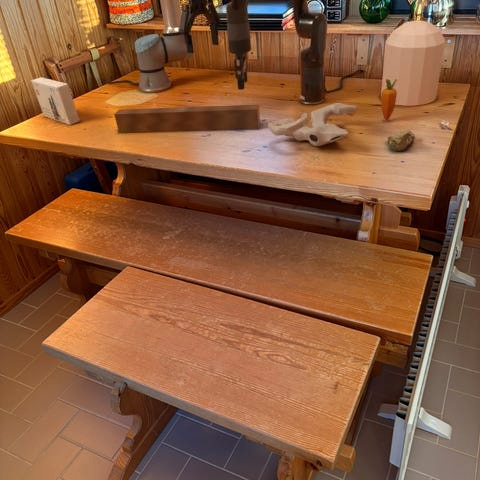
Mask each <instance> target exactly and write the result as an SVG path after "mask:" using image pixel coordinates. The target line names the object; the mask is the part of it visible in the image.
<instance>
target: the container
mask: <svg viewBox="0 0 480 480" xmlns="http://www.w3.org/2000/svg"><path fill="white" fill-rule="evenodd" d="M445 44H446V40H445V37H444V35H443V33H442V31H441V29H440V28H439V27H437V26H436V25H434V24H433V23H431V22H429V21H425V20H410V21H406V22H404V23H402V24H401V25H400V26H398V27H397V28H395V29H393V31H391V33H390V35H389V36H388V37H387V39H386V40H385V41H384V56H383V64H382V65H383V66H382V78H381V92H380V99H381V98H382V91H383V90H384V89H386V88H387V87H386V85H387V83H386V79H390V82H391V84H393V82H394V80H395V79H397V81H396V83H395V84H394V86H393V88H394V89H395V90H396V91H397V95H396V102H395V106H405V107H410V106H421V105H428V104H430V103H432V102H434V101H435V100H436V99H437V97H438V96H437V94H438V90H439V83H440V76H441V71H442V70H441V69H442V64H443V57H444V51H445ZM389 86H390V85H389ZM391 86H392V85H391Z"/></svg>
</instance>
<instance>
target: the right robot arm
mask: <svg viewBox="0 0 480 480" xmlns="http://www.w3.org/2000/svg"><path fill="white" fill-rule="evenodd" d="M249 2H250V1H249V0H231V1H230V2H229V3H227V5H226V8H225V13H226V22H227V23H226V25H227V28H226V31H227V42H228V43H227V44H228V52H229V53H230V54H232V55H235V58H234V59H233V63H234V74H235V75H234V78H235V79H236V80H237V90H239V91H242V90H245V83H248V67H249V64H248V54H247V53H250V52H251V51H252V44H251V43H252V42H251V27H250V23H249V9H248V7H249ZM291 2H292V11H293V21H294V29H295V32H296V34H297V36H298V37H299V38H301V39H305V40H310V45H309V46H307V47H304V48H302V49H301V50H300V53H299V56H300V57H299V59H300V61H299V62H300V69H299V70H300V94H299V99H300V103H301V104H303V105H308V106H309V105H311V106H312V105H319V104H321V103H323V102H324V100H326V94H327V93H328V94H329V93H333V92H336V91H339V90H340V89H342V88H343V80H344V79H346V78H348V77H349V78H350V77H351V76H354V75H356V74H358V73H359V72H361V73H364V70H363V69H357V70H355V71H354V72H352V73H350V74H347V75H344V76H342V77H340V79H339V85H340V86H339V87H337V88H334V89H331V90H327V87H326V75H325V52H326V48H327V36H328V19H327V16H326V14H325V13H323V12H316V11H310V10H309V3H308V0H291ZM239 73H240V74H239Z"/></svg>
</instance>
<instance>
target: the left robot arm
mask: <svg viewBox="0 0 480 480" xmlns="http://www.w3.org/2000/svg"><path fill="white" fill-rule="evenodd" d="M187 1H188V4H187V3H182V4H181V2H180V0H159V2H160V8H161V13H162V14H161V15H162V21H163V25H164V29H163V30H162V36H160V35H159V34H158V33H153V34H147V35H144V36H141V37H139V38H138V39H136V40H135V42H134V49H135V54H136V59H137V64H138V68H139V81H138V82H133V81H132V80H129V79H123V80H114V81H108V79H107V78H106V77H104V78H103V80H102V81H103V82H106V83H107V84H119V83H130V84H131V85H134V86H138V88H139V91H140V92H141V93H146V94H152V93H160V92H165V91H166V90H169V89H170V88H171V87H172V83H171V79H170V78H169V75H168V74H167V71H166V69H165V64H171V63H177V62H184V61H186V60H190V59H192V57H193V54H194V52H195V51H194V39H193V36H192V33H191V30H192V28H193V25H194V22H195V19H196V18H197V17H198V16H201V15H203V16H204V17H205V19H206V20H207V21H208V23H209V24H210V28H209V29H210V35H211V44H212V46H219V27H220V24H222V20H221V17H220V15H219V13H218V10H217V9H216V6H215V4H214V0H187Z"/></svg>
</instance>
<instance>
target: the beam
mask: <svg viewBox="0 0 480 480" xmlns="http://www.w3.org/2000/svg"><path fill="white" fill-rule="evenodd" d="M259 105H260V104H238V105H237V104H236V105H235V104H233V105H207V106H181V107H180V106H179V107H178V106H177V107H151V108H150V107H149V108H126V109H125V108H124V109H123V108H122V109H117V111H116V112H115V113H114V118H115V119H114V120H115V123H116V127H117V132H118V134H137V133H139V134H140V133H168V132H169V133H170V132H171V133H174V132H175V133H176V132H208V131H212V132H213V131H245V130H246V131H247V130H259V129H260V125H261V119H260V106H259Z"/></svg>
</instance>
